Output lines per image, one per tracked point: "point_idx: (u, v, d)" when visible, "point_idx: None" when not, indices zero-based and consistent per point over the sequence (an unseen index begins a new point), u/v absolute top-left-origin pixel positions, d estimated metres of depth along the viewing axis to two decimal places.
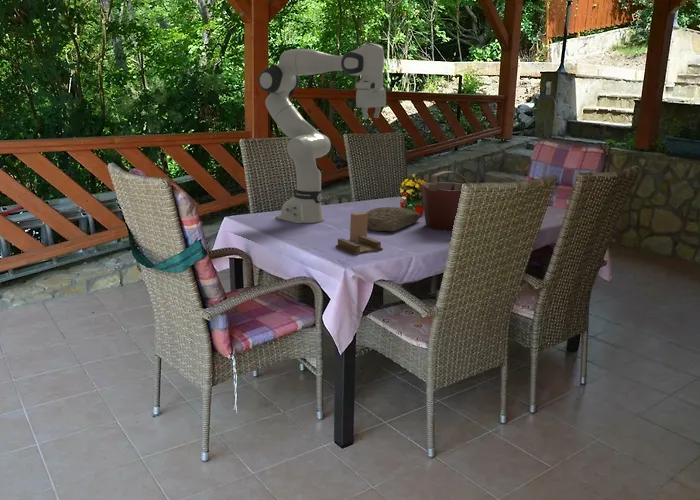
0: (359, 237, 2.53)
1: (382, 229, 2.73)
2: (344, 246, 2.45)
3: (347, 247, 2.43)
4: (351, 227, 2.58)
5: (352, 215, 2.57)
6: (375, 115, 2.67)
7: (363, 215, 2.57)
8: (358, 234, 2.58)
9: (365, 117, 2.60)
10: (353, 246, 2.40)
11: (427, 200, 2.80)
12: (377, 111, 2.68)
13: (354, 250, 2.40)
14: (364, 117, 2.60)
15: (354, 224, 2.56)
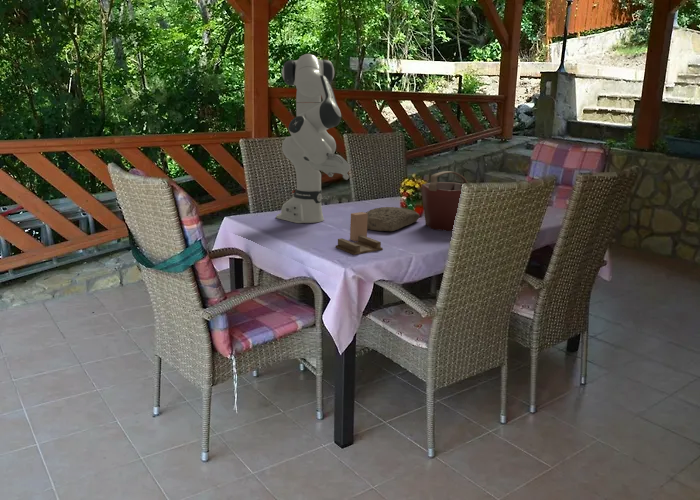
0: (359, 237, 2.53)
1: (382, 229, 2.73)
2: (344, 246, 2.45)
3: (347, 247, 2.43)
4: (351, 227, 2.58)
5: (352, 215, 2.57)
6: None
7: (363, 215, 2.57)
8: (358, 234, 2.58)
9: None
10: (353, 246, 2.40)
11: (427, 200, 2.80)
12: None
13: (354, 250, 2.40)
14: None
15: (354, 224, 2.56)
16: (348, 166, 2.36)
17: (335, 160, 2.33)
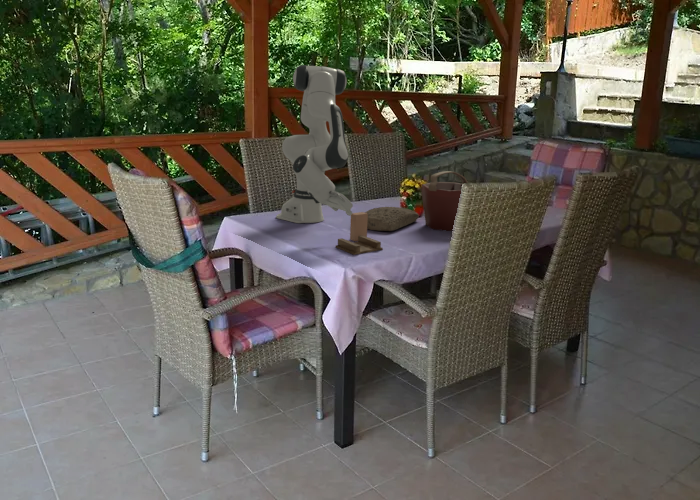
0: (359, 237, 2.53)
1: (381, 229, 2.74)
2: (344, 246, 2.45)
3: (347, 247, 2.43)
4: (351, 227, 2.58)
5: (352, 215, 2.57)
6: None
7: (363, 215, 2.57)
8: (358, 234, 2.58)
9: None
10: (353, 246, 2.40)
11: (427, 200, 2.80)
12: None
13: (354, 250, 2.40)
14: None
15: (354, 224, 2.56)
16: (350, 204, 2.41)
17: (337, 199, 2.39)
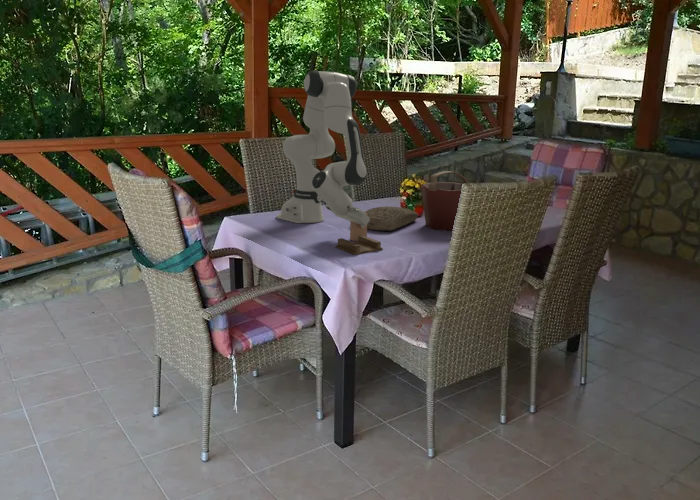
0: (359, 237, 2.53)
1: (380, 228, 2.74)
2: (344, 246, 2.45)
3: (347, 247, 2.43)
4: (351, 227, 2.58)
5: None
6: None
7: None
8: (358, 234, 2.58)
9: None
10: (353, 246, 2.40)
11: (427, 200, 2.80)
12: None
13: (354, 250, 2.40)
14: None
15: (354, 224, 2.56)
16: (367, 219, 2.48)
17: (355, 213, 2.46)
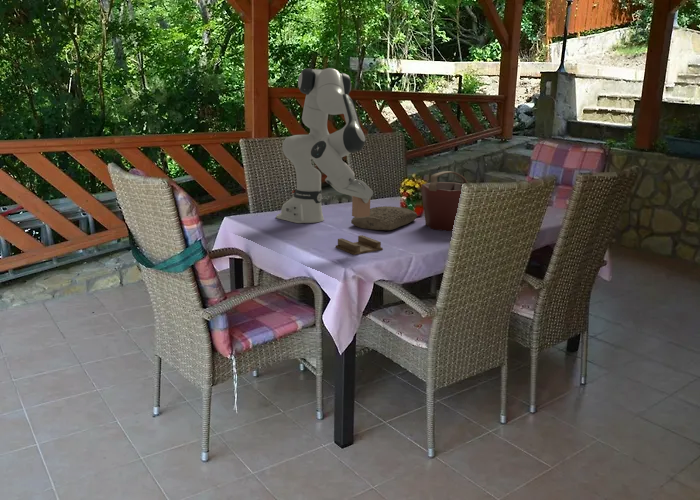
0: (359, 237, 2.53)
1: (379, 228, 2.74)
2: (344, 246, 2.45)
3: (347, 247, 2.43)
4: (353, 202, 2.41)
5: None
6: None
7: None
8: (361, 210, 2.41)
9: None
10: (353, 246, 2.40)
11: (427, 200, 2.80)
12: None
13: (354, 250, 2.40)
14: None
15: (356, 199, 2.40)
16: (371, 192, 2.31)
17: (357, 186, 2.29)
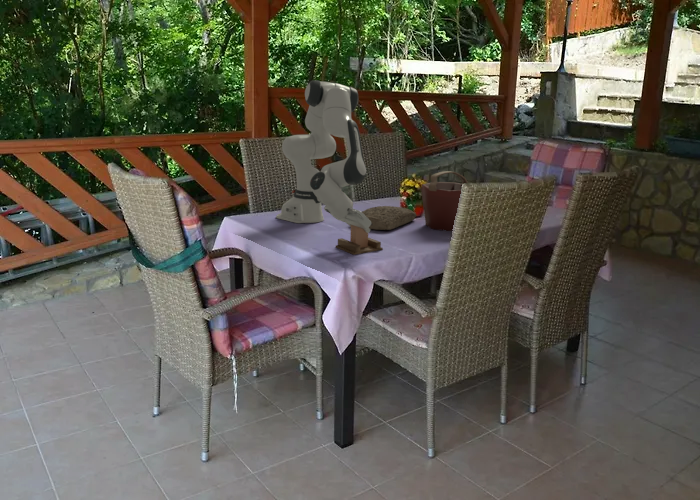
0: None
1: (378, 228, 2.75)
2: (344, 246, 2.45)
3: (347, 247, 2.43)
4: (351, 233, 2.45)
5: None
6: None
7: None
8: (359, 241, 2.44)
9: None
10: (353, 246, 2.40)
11: (427, 200, 2.80)
12: None
13: (354, 250, 2.40)
14: None
15: (354, 230, 2.43)
16: (369, 222, 2.34)
17: (356, 216, 2.32)
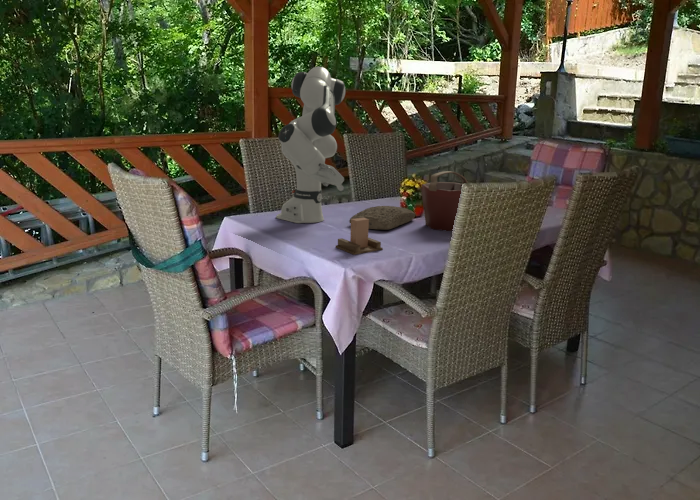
0: None
1: (377, 227, 2.75)
2: (344, 246, 2.45)
3: (347, 247, 2.43)
4: (351, 233, 2.45)
5: (352, 221, 2.43)
6: None
7: (364, 221, 2.44)
8: (359, 241, 2.44)
9: None
10: (353, 246, 2.40)
11: (427, 200, 2.80)
12: None
13: (354, 250, 2.40)
14: None
15: (354, 230, 2.43)
16: (341, 178, 2.22)
17: (327, 172, 2.20)
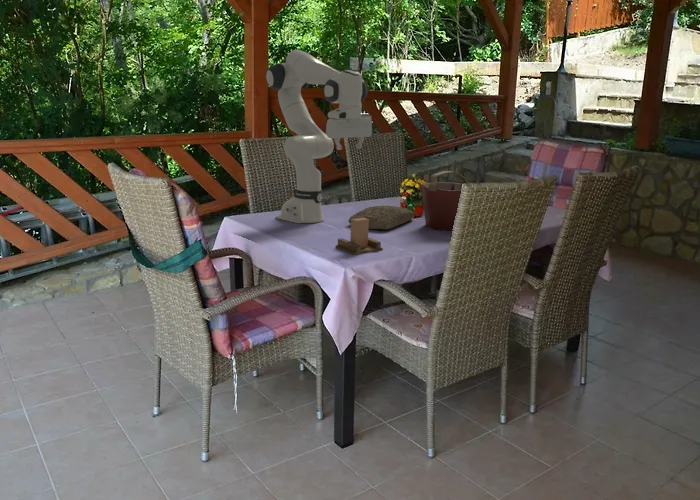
0: None
1: (376, 227, 2.76)
2: (344, 246, 2.45)
3: (347, 247, 2.43)
4: (351, 233, 2.45)
5: (352, 221, 2.43)
6: (357, 145, 2.52)
7: (364, 221, 2.44)
8: (359, 241, 2.44)
9: (338, 148, 2.47)
10: (353, 246, 2.40)
11: (427, 200, 2.80)
12: (360, 141, 2.52)
13: (354, 250, 2.40)
14: (337, 148, 2.47)
15: (354, 230, 2.43)
16: None
17: (368, 118, 2.51)
